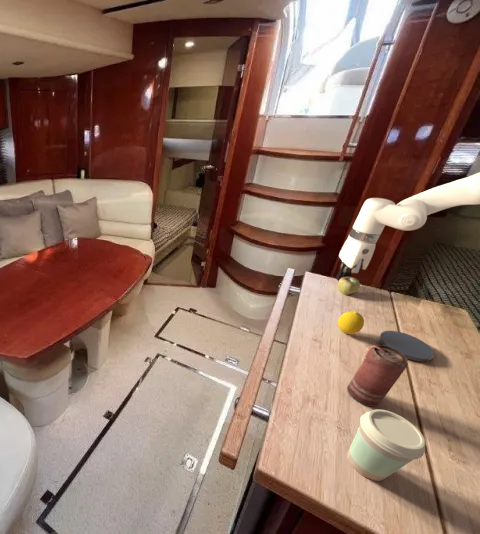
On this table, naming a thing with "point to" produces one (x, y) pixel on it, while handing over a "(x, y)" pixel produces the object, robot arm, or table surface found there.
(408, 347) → the plate
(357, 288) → the apple
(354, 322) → the lemon
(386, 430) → the coffee cup
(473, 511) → the table surface
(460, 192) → the robot arm
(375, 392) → the can
